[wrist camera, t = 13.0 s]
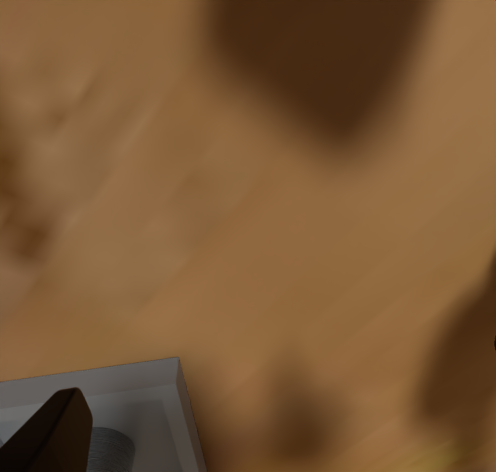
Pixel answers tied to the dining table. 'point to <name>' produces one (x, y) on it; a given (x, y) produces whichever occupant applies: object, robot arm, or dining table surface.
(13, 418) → the tray
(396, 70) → the dining table surface
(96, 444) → the canister
